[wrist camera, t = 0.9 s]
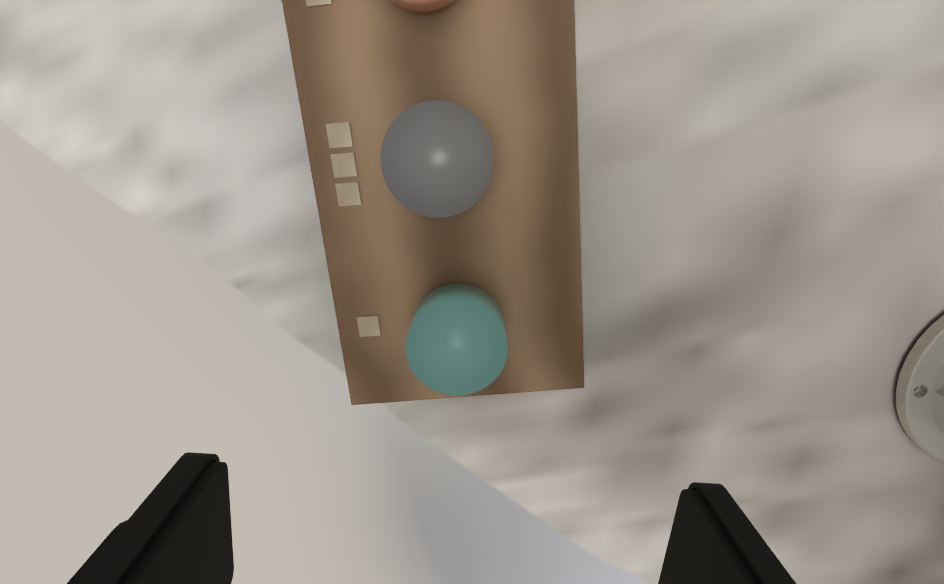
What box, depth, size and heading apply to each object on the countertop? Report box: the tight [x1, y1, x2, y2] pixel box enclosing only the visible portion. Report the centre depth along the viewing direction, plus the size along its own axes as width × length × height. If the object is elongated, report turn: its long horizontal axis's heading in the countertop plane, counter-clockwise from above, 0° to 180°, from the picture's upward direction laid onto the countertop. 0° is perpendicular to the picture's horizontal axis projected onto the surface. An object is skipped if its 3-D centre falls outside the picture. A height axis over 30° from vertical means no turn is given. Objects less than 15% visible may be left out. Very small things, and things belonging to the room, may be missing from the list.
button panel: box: [282, 0, 584, 405], centre depth 29 cm, size 14×28×3 cm, turn 5°
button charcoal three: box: [380, 100, 494, 218], centre depth 24 cm, size 5×5×3 cm
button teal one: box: [406, 283, 508, 395], centre depth 27 cm, size 5×5×3 cm
